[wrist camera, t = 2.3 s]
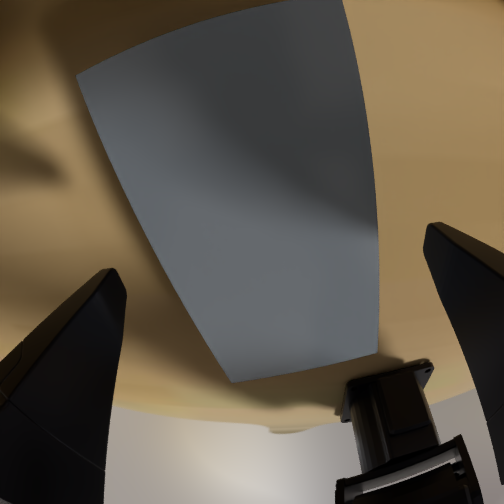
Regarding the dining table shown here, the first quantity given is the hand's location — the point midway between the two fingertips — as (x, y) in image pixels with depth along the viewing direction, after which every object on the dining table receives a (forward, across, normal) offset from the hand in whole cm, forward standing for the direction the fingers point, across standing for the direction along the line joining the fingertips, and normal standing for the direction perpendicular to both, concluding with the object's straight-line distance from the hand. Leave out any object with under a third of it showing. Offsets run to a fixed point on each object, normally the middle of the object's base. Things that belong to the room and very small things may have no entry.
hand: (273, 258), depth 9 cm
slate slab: (+4, 0, 0) cm, 4 cm away
